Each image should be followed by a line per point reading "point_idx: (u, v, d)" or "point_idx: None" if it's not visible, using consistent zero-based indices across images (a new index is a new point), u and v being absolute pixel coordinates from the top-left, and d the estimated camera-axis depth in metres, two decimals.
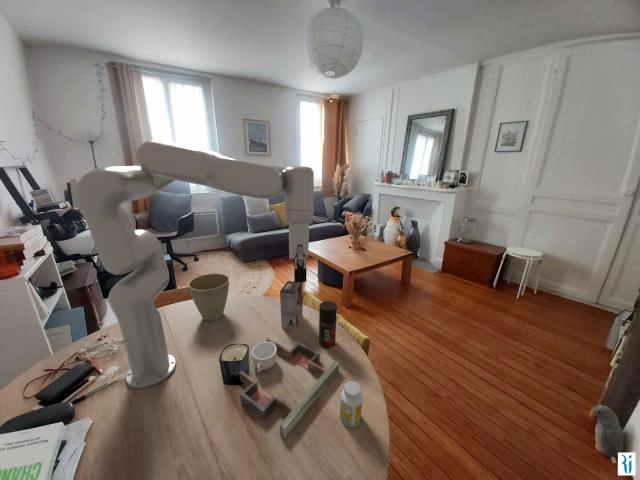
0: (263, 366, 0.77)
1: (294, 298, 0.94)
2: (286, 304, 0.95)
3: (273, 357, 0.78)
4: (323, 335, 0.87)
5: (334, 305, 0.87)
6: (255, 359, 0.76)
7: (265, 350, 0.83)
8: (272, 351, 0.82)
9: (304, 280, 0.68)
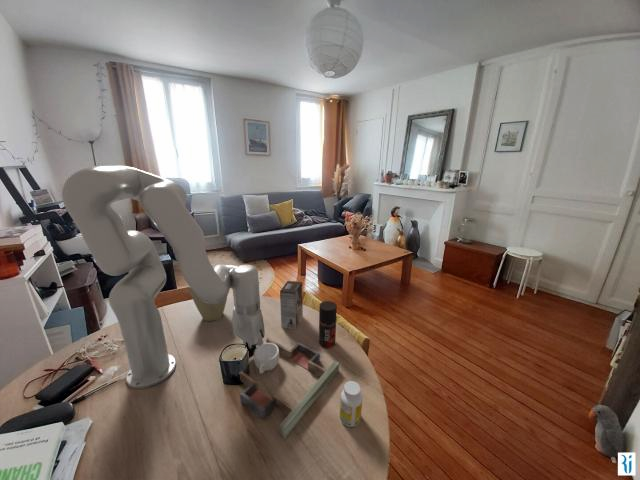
0: (265, 367, 0.76)
1: (294, 298, 0.94)
2: (286, 304, 0.95)
3: (275, 358, 0.77)
4: (323, 335, 0.87)
5: (334, 305, 0.87)
6: (257, 360, 0.76)
7: (267, 351, 0.83)
8: (274, 352, 0.82)
9: None
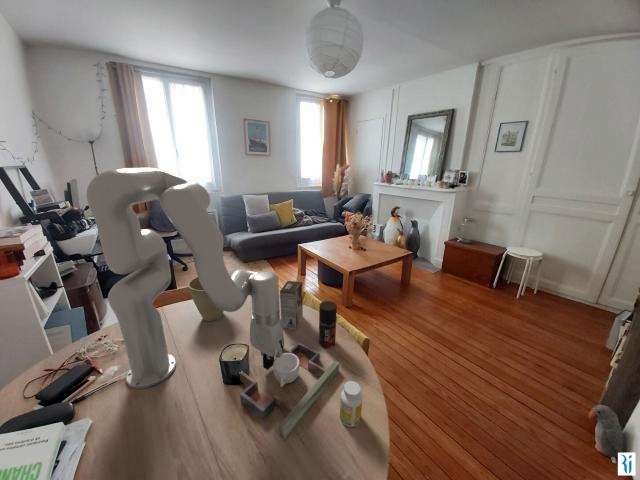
0: (286, 380, 0.72)
1: (294, 298, 0.94)
2: (286, 304, 0.95)
3: (296, 370, 0.73)
4: (323, 335, 0.87)
5: (334, 305, 0.87)
6: (277, 372, 0.71)
7: (286, 362, 0.78)
8: (294, 363, 0.78)
9: None
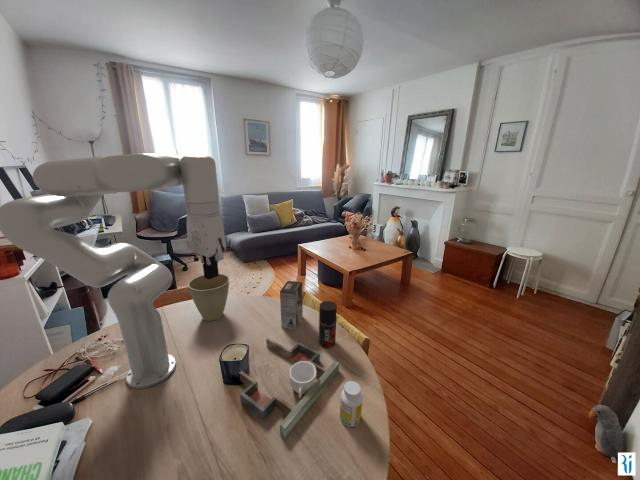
0: (304, 390, 0.69)
1: (294, 298, 0.94)
2: (286, 304, 0.95)
3: (314, 379, 0.70)
4: (323, 335, 0.87)
5: (334, 305, 0.87)
6: (295, 382, 0.68)
7: (302, 370, 0.75)
8: (310, 371, 0.75)
9: (216, 274, 0.68)
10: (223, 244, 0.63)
